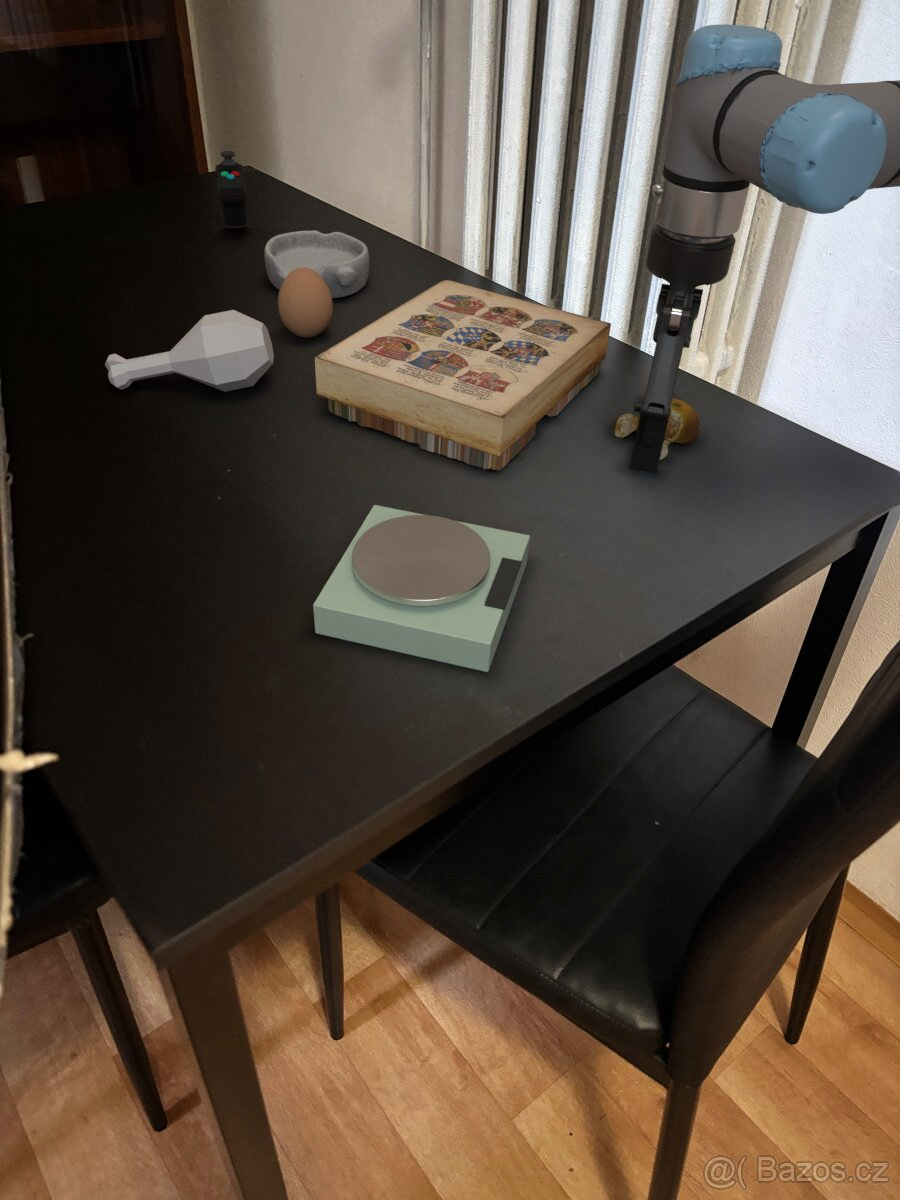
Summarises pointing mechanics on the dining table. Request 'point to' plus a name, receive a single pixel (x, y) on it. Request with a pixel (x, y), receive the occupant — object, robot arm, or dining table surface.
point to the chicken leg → (206, 355)
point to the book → (463, 371)
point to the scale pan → (421, 560)
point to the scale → (426, 631)
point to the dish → (319, 259)
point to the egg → (305, 303)
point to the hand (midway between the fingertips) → (651, 434)
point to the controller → (231, 190)
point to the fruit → (678, 429)
